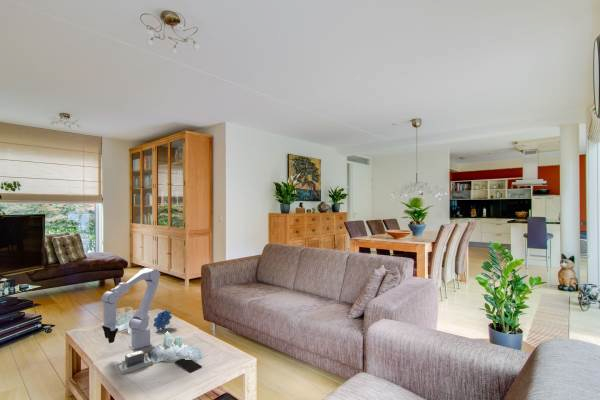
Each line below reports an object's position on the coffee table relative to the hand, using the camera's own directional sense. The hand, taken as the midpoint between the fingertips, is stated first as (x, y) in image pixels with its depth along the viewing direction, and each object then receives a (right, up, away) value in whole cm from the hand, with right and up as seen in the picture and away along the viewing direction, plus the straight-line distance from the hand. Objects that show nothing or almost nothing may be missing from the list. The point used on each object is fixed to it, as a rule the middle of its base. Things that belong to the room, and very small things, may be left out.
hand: (109, 340), depth 165 cm
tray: (+17, -10, -6) cm, 20 cm away
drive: (+17, -9, -6) cm, 20 cm away
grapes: (+10, -10, +40) cm, 43 cm away
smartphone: (+43, -11, -5) cm, 45 cm away
